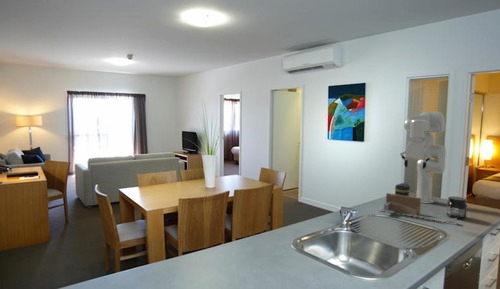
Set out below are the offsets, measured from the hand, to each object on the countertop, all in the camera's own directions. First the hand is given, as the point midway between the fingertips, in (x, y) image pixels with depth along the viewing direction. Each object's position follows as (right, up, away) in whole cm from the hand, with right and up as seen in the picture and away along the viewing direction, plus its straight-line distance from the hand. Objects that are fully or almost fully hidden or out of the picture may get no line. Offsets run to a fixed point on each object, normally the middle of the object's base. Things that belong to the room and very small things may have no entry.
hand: (414, 167), depth 189 cm
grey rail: (+2, -31, +3) cm, 31 cm away
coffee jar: (-1, -30, +15) cm, 34 cm away
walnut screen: (-6, -30, +5) cm, 31 cm away
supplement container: (+28, -32, +3) cm, 42 cm away
